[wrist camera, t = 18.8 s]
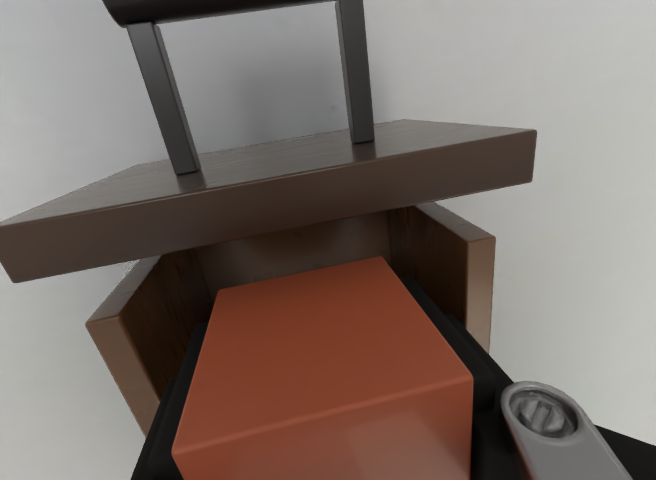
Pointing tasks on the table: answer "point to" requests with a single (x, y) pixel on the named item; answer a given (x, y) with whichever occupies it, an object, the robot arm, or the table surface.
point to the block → (325, 384)
